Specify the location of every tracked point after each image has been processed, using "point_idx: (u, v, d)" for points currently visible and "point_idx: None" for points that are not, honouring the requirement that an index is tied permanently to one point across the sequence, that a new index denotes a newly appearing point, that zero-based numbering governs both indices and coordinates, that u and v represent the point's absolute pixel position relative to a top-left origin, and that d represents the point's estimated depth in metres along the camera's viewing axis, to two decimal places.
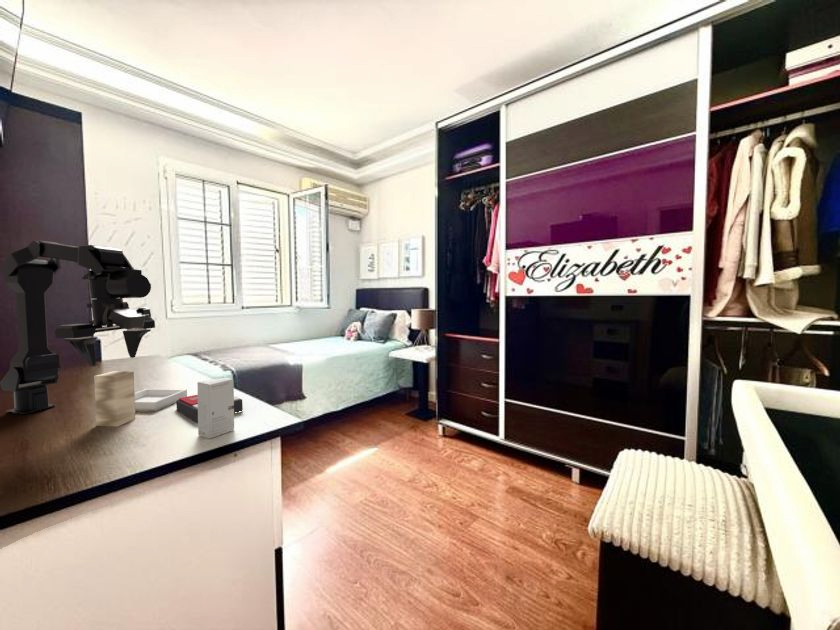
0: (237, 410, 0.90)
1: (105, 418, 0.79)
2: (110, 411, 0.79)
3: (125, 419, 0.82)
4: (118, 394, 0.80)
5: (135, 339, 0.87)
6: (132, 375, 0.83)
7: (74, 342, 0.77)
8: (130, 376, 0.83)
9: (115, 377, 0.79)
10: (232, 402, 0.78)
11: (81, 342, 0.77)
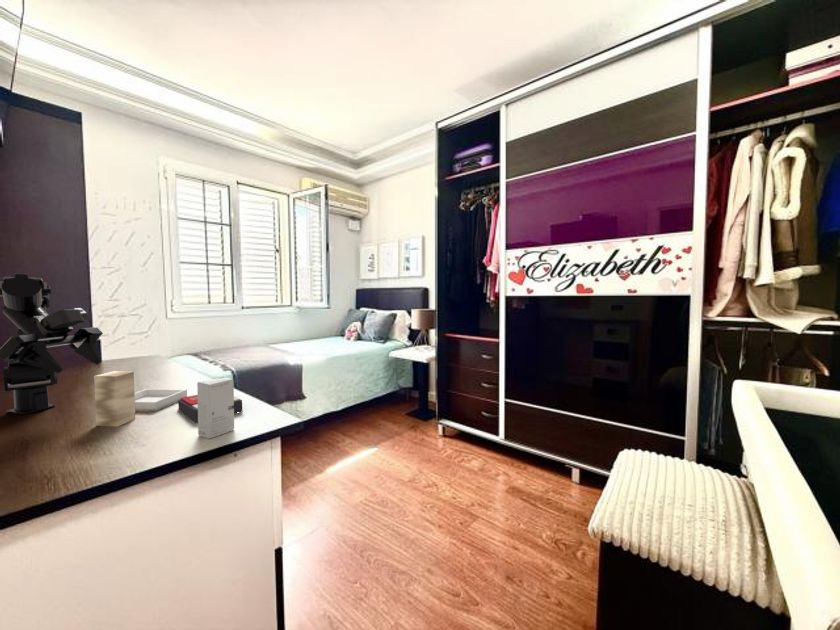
0: (237, 411, 0.89)
1: (105, 418, 0.79)
2: (110, 411, 0.79)
3: (125, 419, 0.82)
4: (117, 394, 0.80)
5: (90, 346, 0.86)
6: (132, 375, 0.83)
7: (27, 359, 0.75)
8: (129, 376, 0.83)
9: (115, 377, 0.79)
10: (232, 402, 0.78)
11: (33, 356, 0.75)
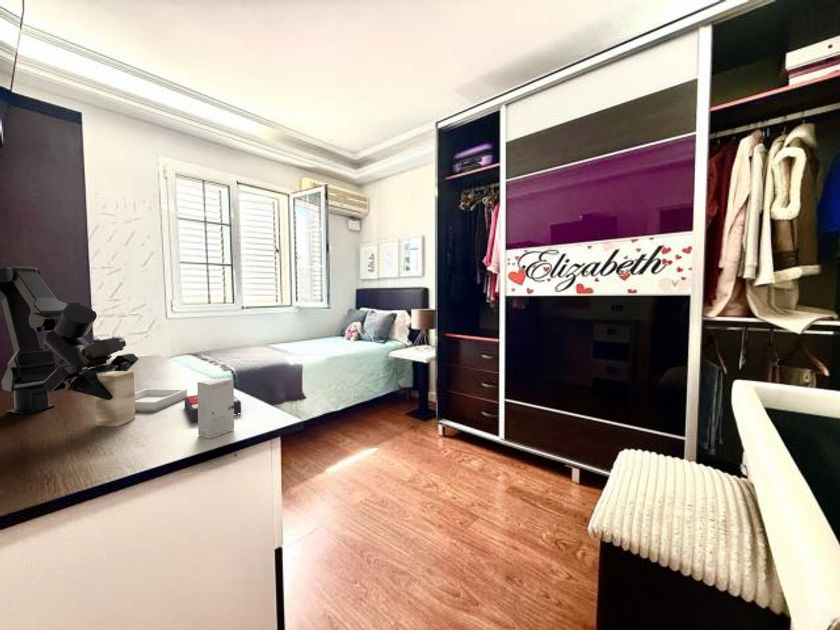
0: (235, 412, 0.88)
1: (105, 418, 0.79)
2: (110, 411, 0.79)
3: (125, 419, 0.82)
4: (118, 394, 0.80)
5: None
6: (132, 375, 0.83)
7: (79, 388, 0.77)
8: (130, 376, 0.83)
9: (115, 377, 0.79)
10: (232, 402, 0.78)
11: (85, 384, 0.78)
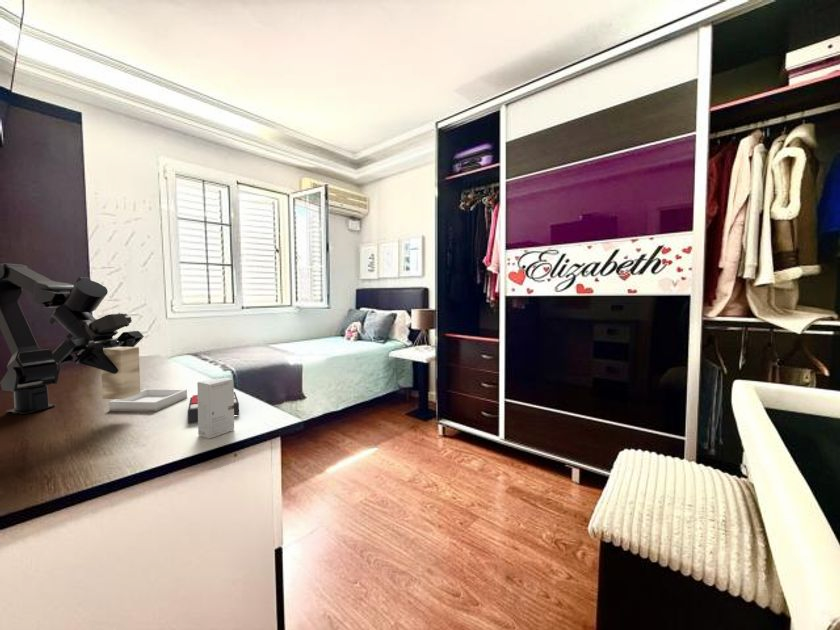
0: None
1: (111, 391, 0.82)
2: (116, 384, 0.81)
3: (130, 393, 0.84)
4: (123, 367, 0.82)
5: None
6: (137, 350, 0.85)
7: (86, 361, 0.79)
8: (135, 351, 0.85)
9: (121, 351, 0.81)
10: (232, 402, 0.78)
11: (92, 358, 0.80)
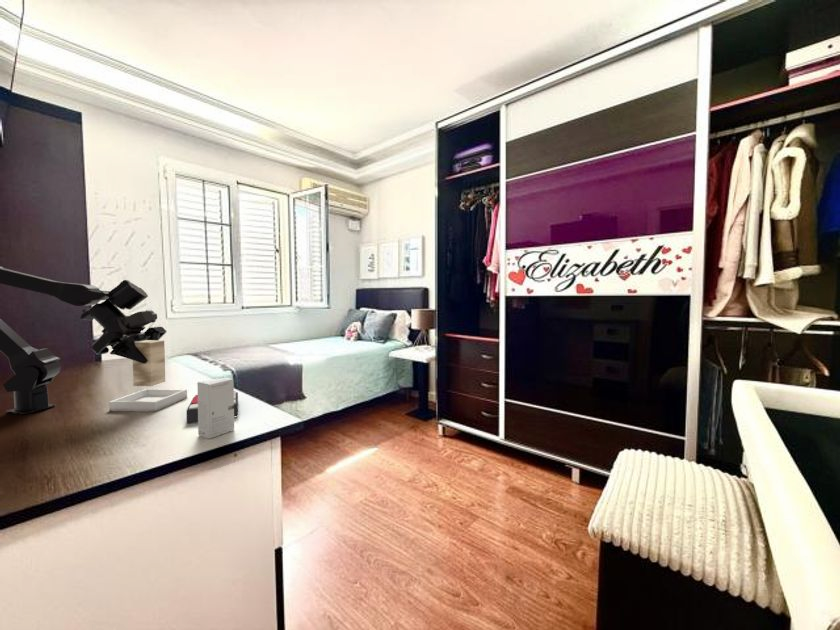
0: None
1: (141, 379, 0.93)
2: (145, 373, 0.93)
3: (157, 381, 0.95)
4: (152, 358, 0.93)
5: None
6: (163, 343, 0.97)
7: (120, 352, 0.90)
8: (161, 344, 0.96)
9: (150, 344, 0.92)
10: (232, 402, 0.78)
11: (125, 349, 0.91)
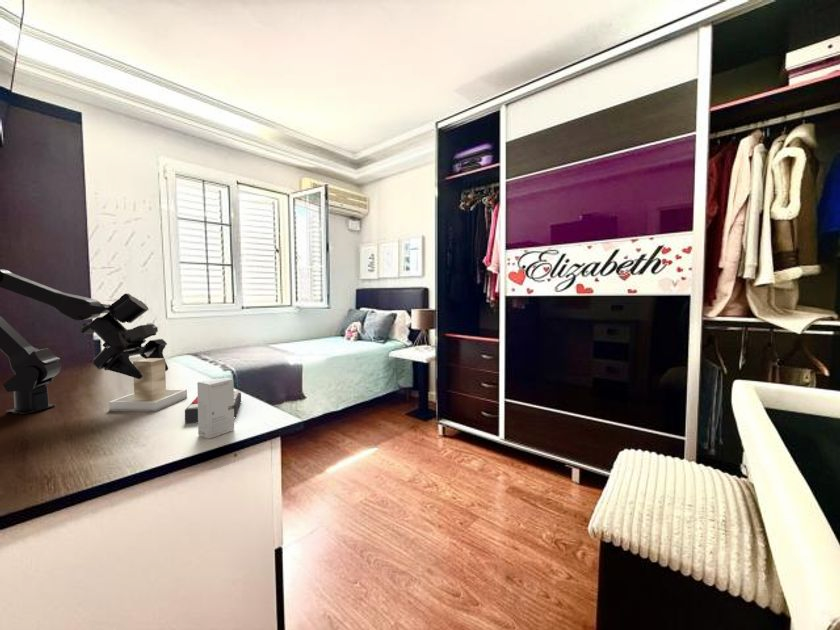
0: None
1: (142, 398, 0.93)
2: (146, 391, 0.93)
3: (158, 399, 0.95)
4: (153, 377, 0.93)
5: (158, 355, 1.00)
6: (164, 361, 0.97)
7: (114, 368, 0.89)
8: (162, 362, 0.96)
9: (151, 362, 0.93)
10: (232, 402, 0.78)
11: (119, 365, 0.89)
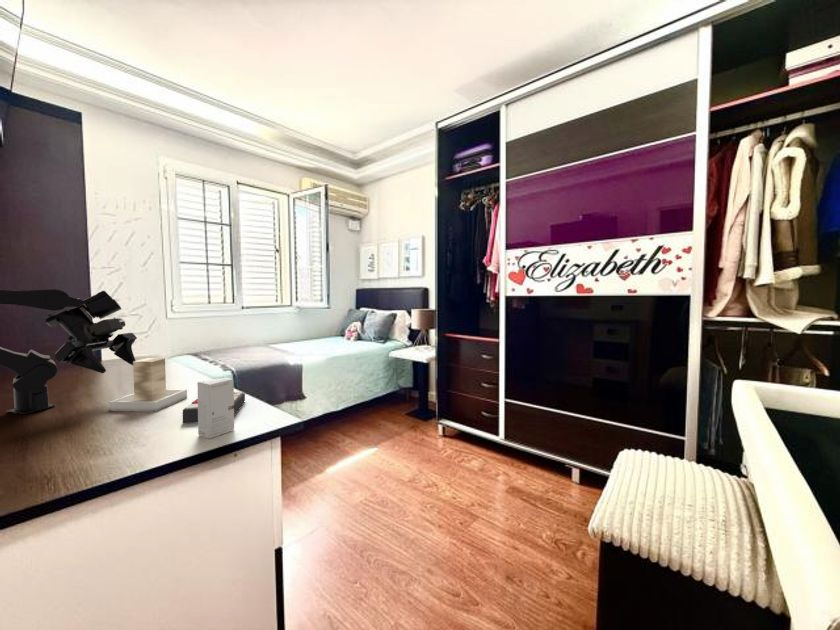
0: None
1: (142, 398, 0.93)
2: (146, 391, 0.93)
3: (158, 399, 0.95)
4: (153, 377, 0.93)
5: (126, 350, 1.00)
6: (164, 361, 0.97)
7: (77, 361, 0.89)
8: (162, 362, 0.96)
9: (151, 362, 0.93)
10: (232, 402, 0.78)
11: (82, 359, 0.89)
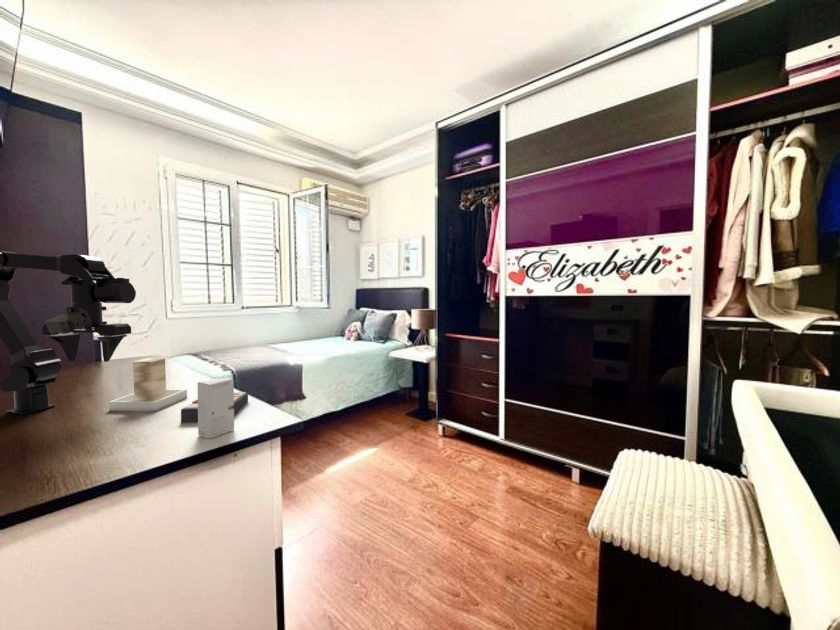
0: None
1: (142, 398, 0.93)
2: (146, 391, 0.93)
3: (158, 399, 0.95)
4: (153, 377, 0.93)
5: None
6: (164, 361, 0.97)
7: None
8: (162, 362, 0.96)
9: (151, 362, 0.93)
10: (232, 402, 0.78)
11: None
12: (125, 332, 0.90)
